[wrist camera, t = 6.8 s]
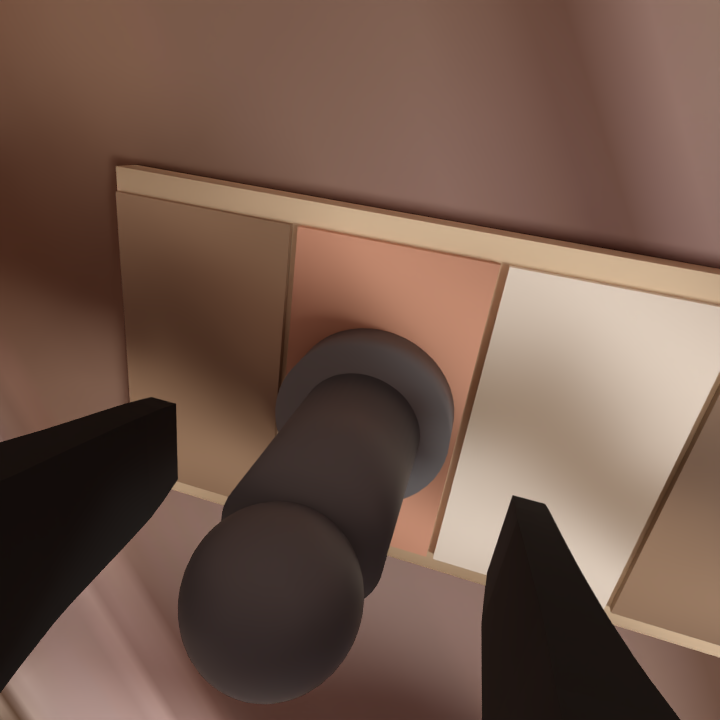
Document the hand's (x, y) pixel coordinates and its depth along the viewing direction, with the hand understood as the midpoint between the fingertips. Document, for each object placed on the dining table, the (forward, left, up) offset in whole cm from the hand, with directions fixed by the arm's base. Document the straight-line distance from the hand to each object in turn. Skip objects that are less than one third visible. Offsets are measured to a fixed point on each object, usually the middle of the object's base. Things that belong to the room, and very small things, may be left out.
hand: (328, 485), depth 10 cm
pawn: (0, 0, -3) cm, 3 cm away
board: (0, -5, -4) cm, 7 cm away
